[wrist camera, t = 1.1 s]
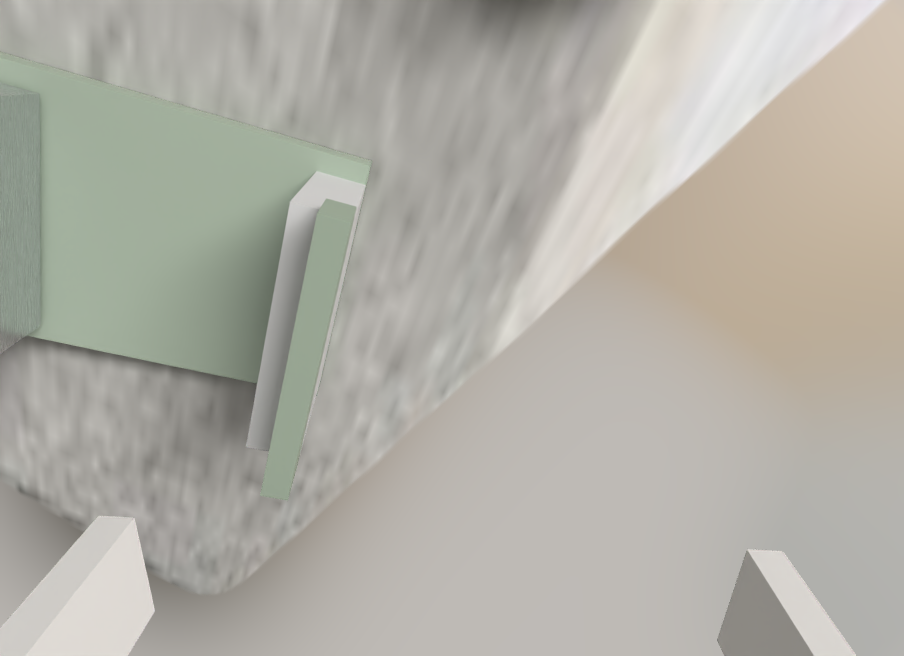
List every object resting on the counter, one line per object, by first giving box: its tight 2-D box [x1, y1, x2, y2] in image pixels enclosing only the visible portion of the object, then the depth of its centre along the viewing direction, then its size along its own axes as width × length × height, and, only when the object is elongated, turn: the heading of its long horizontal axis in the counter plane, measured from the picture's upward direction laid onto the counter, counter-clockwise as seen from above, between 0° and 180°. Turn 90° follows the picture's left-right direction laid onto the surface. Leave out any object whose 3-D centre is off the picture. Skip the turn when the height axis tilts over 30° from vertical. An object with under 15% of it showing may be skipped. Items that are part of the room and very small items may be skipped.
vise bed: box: [0, 52, 372, 500], centre depth 25 cm, size 14×22×11 cm, turn 73°
